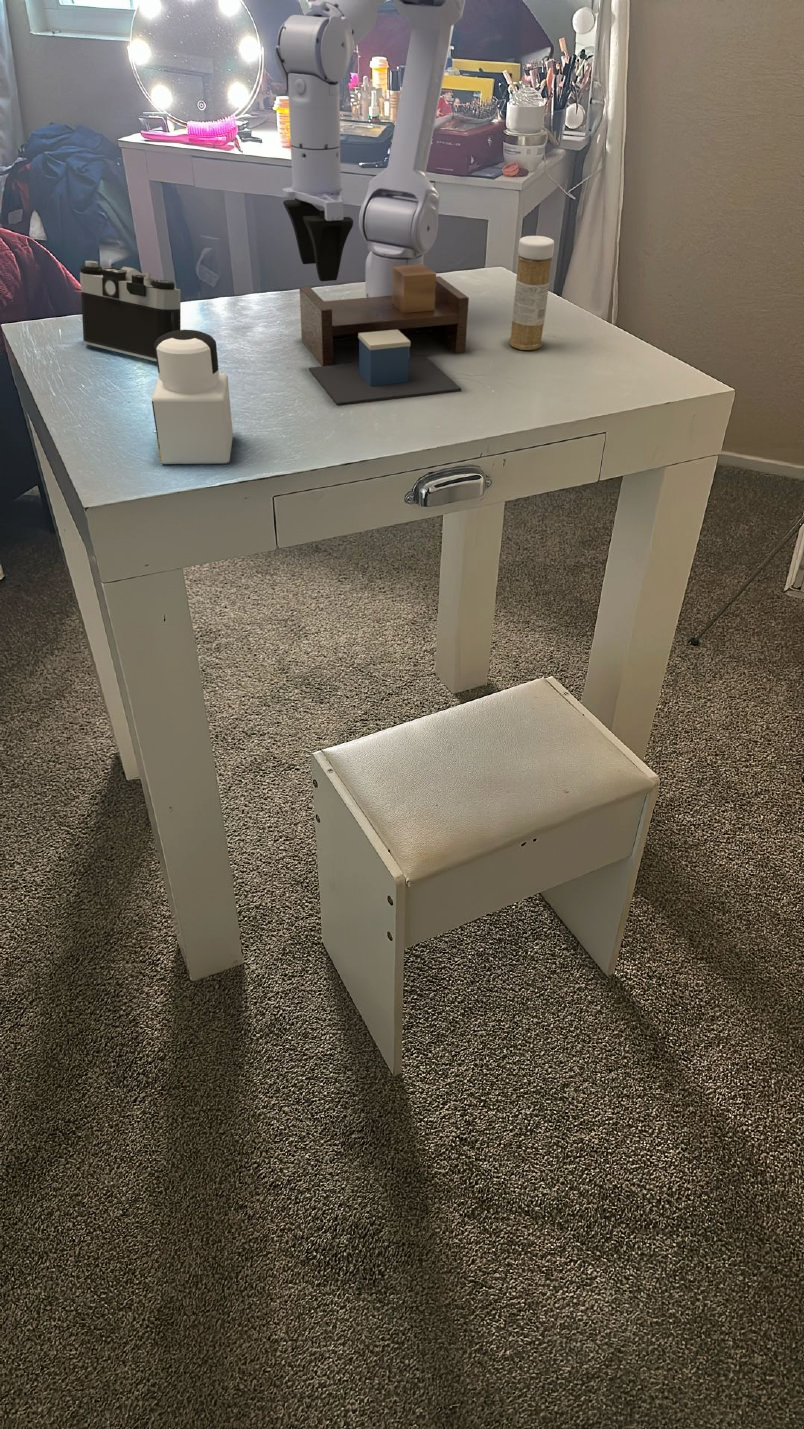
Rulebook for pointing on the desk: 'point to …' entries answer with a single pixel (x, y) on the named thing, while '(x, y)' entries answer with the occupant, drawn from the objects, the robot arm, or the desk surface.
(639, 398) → the desk surface
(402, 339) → the blue box
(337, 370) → the mat
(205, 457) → the medicine bottle
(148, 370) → the desk surface
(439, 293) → the shelf
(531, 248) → the sprinkles bottle
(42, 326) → the desk surface
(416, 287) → the tan box
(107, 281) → the camera
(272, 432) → the desk surface
